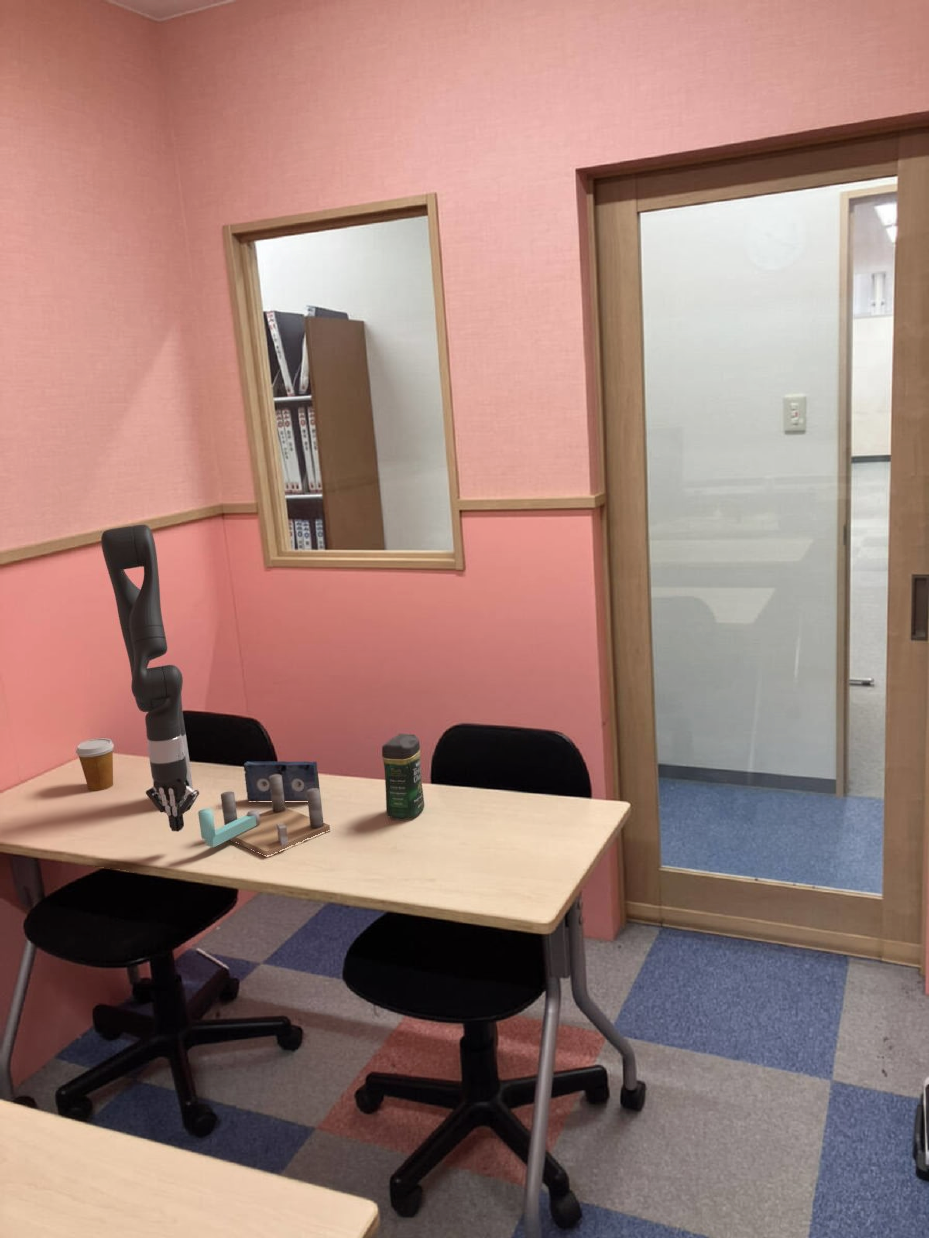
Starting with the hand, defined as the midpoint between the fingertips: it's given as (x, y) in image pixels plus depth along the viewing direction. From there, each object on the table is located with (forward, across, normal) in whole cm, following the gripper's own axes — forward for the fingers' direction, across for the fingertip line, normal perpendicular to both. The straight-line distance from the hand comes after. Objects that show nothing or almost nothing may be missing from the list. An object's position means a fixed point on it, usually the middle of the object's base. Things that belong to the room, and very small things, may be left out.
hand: (177, 829), depth 222 cm
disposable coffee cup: (+5, -47, +30) cm, 56 cm away
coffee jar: (+5, +42, +30) cm, 52 cm away
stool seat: (+5, +17, +13) cm, 21 cm away
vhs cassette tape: (+5, +8, +31) cm, 32 cm away
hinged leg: (+3, +9, +6) cm, 12 cm away
